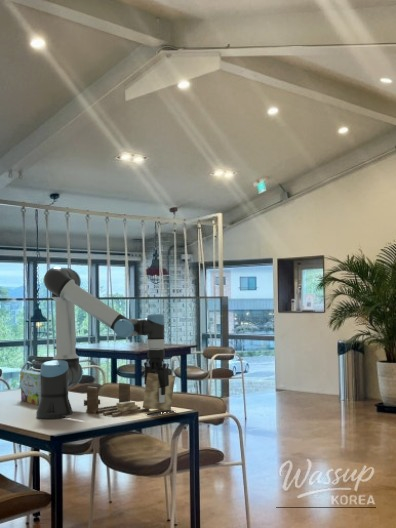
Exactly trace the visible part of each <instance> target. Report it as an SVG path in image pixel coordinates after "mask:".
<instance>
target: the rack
mask: <svg viewBox="0 0 396 528" xmlns="http://www.w3.org/2000/svg"><path fill="white" fill-rule="evenodd" d="M98 399H99V387H96V386H87V387H86V400H87V406H86V410H85V412H84V414H87V415H88V414H89V415H95V416H101V417H108V418H115V417H122V416H128V415H129V416H130V415H134V414H139V413H140V414H141V413H146V412H150V411H151V409H146V408H141V406H138V410H131V411H125V412H119V413H116V410H118V407H116V404H115V405H109V406H102V407H99V404H98ZM128 401H131V383H127V382H119V383H118V403H120V402H128Z"/></svg>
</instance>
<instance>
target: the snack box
mask: <svg viewBox="0 0 396 528" xmlns="http://www.w3.org/2000/svg"><path fill="white" fill-rule="evenodd" d="M20 396H21V397H20V401H22V402H25V403H29V404H32V405H36V406H39V402H40V399H41V374H40V371H35V370H29V369H28V370H20Z"/></svg>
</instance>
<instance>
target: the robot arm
mask: <svg viewBox="0 0 396 528" xmlns="http://www.w3.org/2000/svg"><path fill="white" fill-rule="evenodd" d="M81 282H82V281H81V277H80V275H79V273H78V272H77V271H76V270H74V269H71V268H69V267H62V266H61V267H60V266H54V267H51V268H49V269H48V270H47V271H46V272H45V275H44V276H43V285H44V286H45V288H46V289H47V290H48V291H49V292H50V293H51V299H53V301H54V303H55V304H54V306H55V349H56V350H55V351H56V352H55V353H56V354H55V355H54V356H53V358H52V360H49V361H44V362H43V363H41V365H40V371H39V372H40V374H41V399H40V402H39V405H37V410H36V414H35V415H36V418H37V419H42V420H43V419H44V420H46V419H47V420H53V419H65V418H67V417H68V416H70V415H72V414H73V409H72V405H71V401H70V398H69V388H72V387H75V386H77V384H79V383H80V381H81V380H82V377H83V373H84V372H83V367H82V365H81V364H80V356H78V354H77V353H76V317H75V316H76V312H75V310H76V308H75V307H76V306H77V307H78V308H80V309H81V310H82V311H84V312H85V313H87V314H88V315H90V316H91V317H93V318H94V319H96V320H98V322H101V323H102V324H103V325H105V326H107V327H108V328H109V329H111V330H112V331H114V333H115V334H116V336H118V337H120V338H124V339H125V338H129V337H135V336H145V337H146V336H147V342H146V343H147V344H146V345H147V346H146V347H147V358H148V361H145V362H144V363H143V366H144V378H143V379H144V382H143V383H144V385H145V386H146V380H147V373H153V374H158V379H159V383H160V387H159V403H164V402H165V387H167V386H169V376H168V375H169V365H170V364H169V363H168V362H165V360H164V358H165V356H166V355H165V353H166V352H165V349H164V348H165V325H166V324H165V316H164V315H163V314H162V313H148V314H147V316H146V318H128V317H126V316H124V315H123V314H121V313H119V311H118V310H115V309H114V308H113V307H111V306H109V305H108V304H106V303H105V302H103V301H102V300H101V299H99V298H98V297H96V296H95V295H93V294H92V293H90V292H88V291H87V290H85V289H84V288H83V287H81V285H82V283H81ZM162 384H163V385H162Z"/></svg>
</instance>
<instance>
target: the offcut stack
mask: <svg viewBox="0 0 396 528" xmlns="http://www.w3.org/2000/svg"><path fill="white" fill-rule="evenodd" d="M115 405H116V407H118V410H116V413H119V412H125V411H131V410H138V407H139V406H138V405H139V404H136V402H135V401H131V400H130V401H128V402H120V403H119V402H116V404H115Z"/></svg>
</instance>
